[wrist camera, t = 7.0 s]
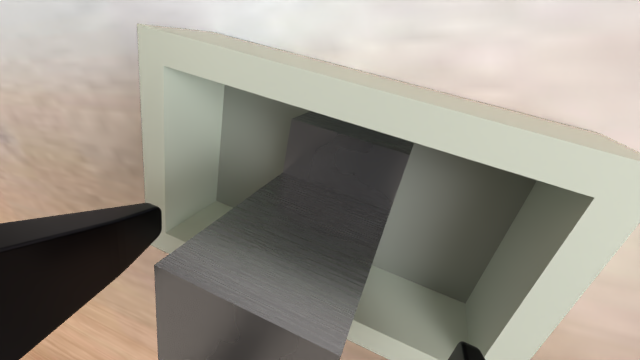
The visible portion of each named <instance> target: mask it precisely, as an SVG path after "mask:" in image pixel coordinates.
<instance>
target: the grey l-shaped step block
mask: <svg viewBox="0 0 640 360" xmlns="http://www.w3.org/2000/svg"><path fill="white" fill-rule="evenodd" d="M413 145H414V142H411V141H408V140H404V139H401V138H398V137H395V136H391V135H388V134H385V133H382V132H378V131H375V130H372V129H368V128H365V127H362V126H359V125H355V124H352V123H349V122H346V121H342V120H339V119H336V118H333V117H329V116H326V115H323V114H319V113H316V112H313V111H309V112H307V113H305V114H302V115H300V116H297V117H295V118H292V120H291V126H290V132H289V138H288V144H287V150H286V156H285V162H284V168H283V172H282V173H281V174H280V175H278V176H277V177H276V178H274V179H273V180H271V181H270V182H269V183H267V184H266V185H264V186H263V187H262V188H260V189H259V190H258V191H256V192H255V193H253V194H252V195H251V196H249V197H248V198H246V199H245V200H244V201H242V202H241V203H240V204H238V205H237V206H235V207H234V208H233V209H231V210H230V211H228V212H227V213H226V214H224V215H223V216H222V217H220V218H219V219H217V220H216V221H215V222H213V223H212V224H210V225H209V226H208V227H206V228H205V229H204V230H202V231H201V232H199V233H198V234H197V235H195V236H194V237H192V238H191V239H190V240H188V241H187V242H186V243H184V244H183V245H181V246H180V247H179V248H177V249H176V250H174V251H173V252H172V253H170V254H169V255H168V256H166V257H165V258H163V259H162V260H161V261H159V262H158V263H156V264H155V265H154V271H155V294H156V318H157V342H158V360H339V359H340V357H341V354H342V351H343V348H344V345H345V342H346V339H347V336H348V333H349V330H350V327H351V324H352V322H353V319H354V316H355V313H356V310H357V307H358V304H359V301H360V298H361V295H362V292H363V289H364V286H365V283H366V280H367V278H368V275H369V272H370V269H371V266H372V263H373V260H374V257H375V254H376V251H377V248H378V245H379V242H380V239H381V236H382V234H383V231H384V228H385V225H386V222H387V219H388V216H389V213H390V210H391V207H392V204H393V202H394V199H395V196H396V193H397V190H398V187H399V185H400V182H401V179H402V176H403V173H404V171H405V168H406V165H407V162H408V159H409V156H410V154H411V151H412V148H413Z"/></svg>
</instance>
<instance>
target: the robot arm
mask: <svg viewBox="0 0 640 360" xmlns="http://www.w3.org/2000/svg"><path fill="white" fill-rule="evenodd" d="M161 231H162V211H161V209H160V208H159V207H158V206H155V205H153V204H151V203H142V204H135V205H128V206H121V207H114V208H107V209H100V210H93V211H86V212H79V213H71V214H64V215H57V216H50V217H43V218H36V219H29V220H22V221H15V222H8V223H1V224H0V360H19V359H21V358H22V357H23V356H24V355H25V354H27V353H28V352H29V351H30V350H31V349H32V348H34V347H35V346H36V345H37V344H38V343H40V342H41V341H42V340H43V339H44V338H46V337H47V336H48V335H49V334H50V333H52V332H53V331H54V330H55V329H56V328H57V327H59V326H60V325H61V324H62V323H63V322H65V321H66V320H67V319H68V318H69V317H71V316H72V315H73V314H74V313H75V312H77V311H78V310H79V309H80V308H81V307H82V306H84V305H85V304H86V303H87V302H88V301H90V300H91V299H92V298H93V297H94V296H96V295H97V294H98V293H99V292H100V291H102V290H103V289H104V288H105V287H106V286H107V285H109V284H110V283H111V282H112V281H113V280H115V279H116V278H117V277H118V276H119V275H120V274H121V273H122V272H124V271H125V270H126V269H127V268H128V267H129V266H130V265H131V264H132V263H133V262H134V261H135V260H136V259H137V258H138V257H139V256H140V255H141V254H142V253H143V252H144V251H145V250H146V249H147V248H148V247H149V246H150V245H151V244H152V243H153V242H154V241H155V240H156V239H157V238H158V236H159V235H160V233H161ZM448 360H486V359H485V358H484V356H483V354H482V353H481V351H480V350H479V349H478V348H477V347H475V346H473V345H471V344H468V343H466V342H464V341H461V342H459V343H458V344H457V346H456V347H455V349H454V351H453V352H452V354H451V355H450V357H449V359H448Z"/></svg>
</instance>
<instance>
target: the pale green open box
mask: <svg viewBox="0 0 640 360" xmlns="http://www.w3.org/2000/svg"><path fill="white" fill-rule="evenodd" d="M137 35H138V57H139V79H140V101H141V123H142V146H143V168H144V190H145V203H151V204H153V205H155V206H158V207H159V208H160V209H161V211H162V231H161V233H160V235H159V236H158V238H157V239H156V240H155V241H154V242H153V243H152V244H151V245H152V246H154V247H156V248H158V249H160V250H162V251H164V252H166V253H168V254H170V253H172V252H173V251H174V250H176V249H177V248H179V247H180V246H181V245H183V244H184V243H186V242H187V241H188V240H190V239H191V238H192V237H194V236H195V235H197V234H198V233H199V232H201V231H202V230H204V229H205V228H206V227H208V226H209V225H210V224H212V223H213V222H215V221H216V220H217V219H219V218H220V217H222V216H223V215H224V214H226V213H227V212H228V211H230V210H231V209H233V208H234V207H235V206H237V205H238V204H240V203H241V202H242V201H244V200H245V199H246V198H248V197H249V196H251V195H252V194H253V193H255V192H256V191H258V190H259V189H260V188H262V187H263V186H264V185H266V184H267V183H269V182H270V181H271V180H273V179H274V178H276V177H277V176H278V175H280V174H281V173H282V172H283V168H284V162H285V156H286V150H287V144H288V138H289V132H290V126H291V120H292V118H295V117H297V116H300V115H302V114H305V113H307V112H309V111H313V112H316V113H319V114H323V115H326V116H329V117H333V118H336V119H339V120H342V121H346V122H349V123H352V124H355V125H359V126H362V127H365V128H368V129H372V130H375V131H378V132H382V133H385V134H388V135H391V136H395V137H398V138H401V139H404V140H408V141H411V142H414V145H413V148H412V151H411V154H410V156H409V159H408V162H407V165H406V168H405V171H404V173H403V176H402V179H401V182H400V185H399V187H398V190H397V193H396V196H395V199H394V202H393V204H392V207H391V210H390V213H389V216H388V219H387V222H386V225H385V228H384V231H383V234H382V236H381V239H380V242H379V245H378V248H377V251H376V254H375V257H374V260H373V263H372V266H371V269H370V272H369V275H368V278H367V280H366V283H365V286H364V289H363V292H362V295H361V298H360V301H359V304H358V307H357V310H356V313H355V316H354V319H353V322H352V324H351V327H350V330H349V333H348V336H347V340H349V341H351V342H353V343H355V344H357V345H359V346H362V347H364V348H366V349H368V350H370V351H372V352H374V353H376V354H378V355H380V356H382V357H384V358H386V359H389V360H448V359H449V357H450V355H451V354H452V352H453V351H454V349H455V347H456V346H457V344H458V343H459V342H461V341H464V342H466V343H468V344H471V345H473V346H475V347H477V348H478V349H479V350H480V351H481V353H482V354H483V356H484V358H485V359H486V360H530V359H531V358H532V357H533V355H534V354H535V353H536V352H537V350H538V349H539V348H540V347H541V345H542V344H543V343H544V342H545V341H546V339H547V338H548V337H549V336H550V334H551V333H552V332H553V331H554V329H555V328H556V327H557V326H558V324H559V323H560V322H561V321H562V319H563V318H564V317H565V316H566V314H567V313H568V312H569V311H570V309H571V308H572V307H573V306H574V304H575V303H576V302H577V301H578V299H579V298H580V297H581V296H582V294H583V293H584V292H585V291H586V289H587V288H588V287H589V286H590V284H591V283H592V282H593V281H594V279H595V278H596V277H597V276H598V274H599V273H600V272H601V271H602V269H603V268H604V267H605V266H606V264H607V263H608V262H609V261H610V259H611V258H612V257H613V256H614V254H615V253H616V252H617V251H618V249H619V248H620V247H621V246H622V244H623V243H624V242H625V241H626V239H627V238H628V237H629V236H630V234H631V233H632V232H633V231H634V229H635V228H636V227H637V226H638V224H639V223H640V153H639V152H637V151H635V150H633V149H631V148H629V147H627V146H625V145H623V144H621V143H619V142H617V141H615V140H613V139H611V138H608V137H606V136H604V135H602V134H599V133H595V132H591V131H588V130H584V129H580V128H576V127H572V126H569V125H565V124H561V123H557V122H553V121H549V120H546V119H542V118H538V117H534V116H530V115H527V114H523V113H519V112H515V111H511V110H508V109H504V108H500V107H496V106H492V105H488V104H485V103H481V102H477V101H473V100H469V99H466V98H462V97H458V96H454V95H450V94H447V93H443V92H439V91H435V90H431V89H428V88H424V87H420V86H416V85H412V84H408V83H405V82H401V81H397V80H393V79H389V78H386V77H382V76H378V75H374V74H370V73H367V72H363V71H359V70H355V69H351V68H347V67H344V66H340V65H336V64H332V63H328V62H325V61H321V60H317V59H313V58H309V57H306V56H302V55H298V54H294V53H290V52H287V51H283V50H279V49H275V48H271V47H267V46H264V45H260V44H256V43H252V42H248V41H245V40H241V39H237V38H233V37H229V36H226V35H222V34H218V33H214V32H208V31H199V30H190V29H181V28H171V27H162V26H153V25H144V24H137Z"/></svg>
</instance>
